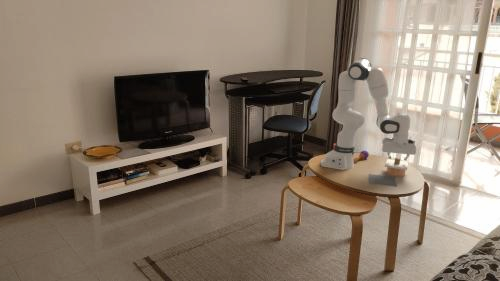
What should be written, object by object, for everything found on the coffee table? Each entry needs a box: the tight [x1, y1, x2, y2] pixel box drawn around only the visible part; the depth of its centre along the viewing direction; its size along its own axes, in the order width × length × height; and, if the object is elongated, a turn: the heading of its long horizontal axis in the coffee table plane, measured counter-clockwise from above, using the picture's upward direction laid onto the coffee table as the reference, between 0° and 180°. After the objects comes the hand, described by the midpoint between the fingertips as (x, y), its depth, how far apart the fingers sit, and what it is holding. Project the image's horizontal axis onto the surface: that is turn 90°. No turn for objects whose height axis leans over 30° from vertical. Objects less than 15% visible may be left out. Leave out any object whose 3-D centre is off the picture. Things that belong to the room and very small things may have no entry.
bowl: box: [386, 167, 407, 177], centre depth 247 cm, size 11×11×6 cm
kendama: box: [353, 150, 369, 164], centre depth 271 cm, size 6×6×20 cm
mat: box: [368, 173, 398, 187], centre depth 236 cm, size 16×16×1 cm
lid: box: [384, 157, 409, 171], centre depth 245 cm, size 13×13×4 cm
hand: (397, 159), depth 245 cm, fingers open, 8 cm apart
